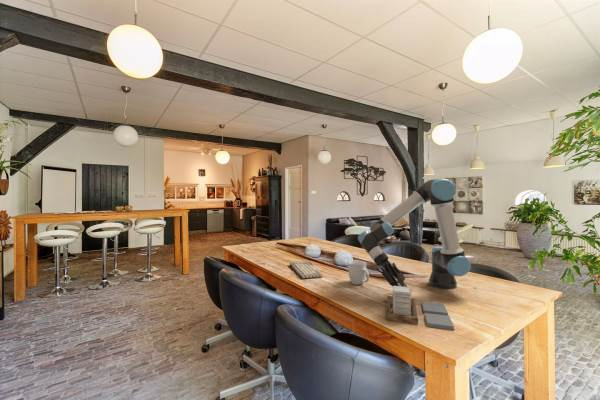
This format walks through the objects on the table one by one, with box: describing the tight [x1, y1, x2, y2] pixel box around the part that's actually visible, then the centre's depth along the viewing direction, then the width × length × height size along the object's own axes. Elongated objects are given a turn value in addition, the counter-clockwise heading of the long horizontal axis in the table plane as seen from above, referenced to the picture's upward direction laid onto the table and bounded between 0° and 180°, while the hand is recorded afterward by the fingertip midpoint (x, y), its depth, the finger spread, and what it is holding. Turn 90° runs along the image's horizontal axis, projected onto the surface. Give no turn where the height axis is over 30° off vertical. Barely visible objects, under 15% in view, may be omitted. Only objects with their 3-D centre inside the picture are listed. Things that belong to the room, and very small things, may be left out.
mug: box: [347, 259, 370, 286], centre depth 168 cm, size 15×11×13 cm
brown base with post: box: [385, 272, 419, 325], centre depth 131 cm, size 13×26×14 cm, turn 161°
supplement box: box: [392, 286, 412, 316], centre depth 124 cm, size 7×7×13 cm
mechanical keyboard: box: [287, 260, 327, 280], centre depth 198 cm, size 38×19×3 cm, turn 16°
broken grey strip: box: [421, 300, 455, 331], centre depth 125 cm, size 10×24×2 cm, turn 161°
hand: (407, 294), depth 137 cm, fingers closed on brown base with post, 4 cm apart
